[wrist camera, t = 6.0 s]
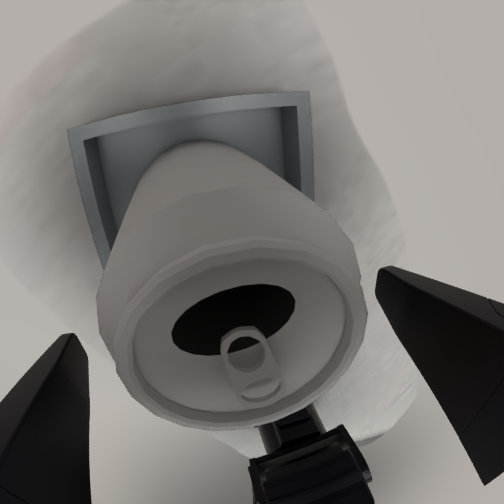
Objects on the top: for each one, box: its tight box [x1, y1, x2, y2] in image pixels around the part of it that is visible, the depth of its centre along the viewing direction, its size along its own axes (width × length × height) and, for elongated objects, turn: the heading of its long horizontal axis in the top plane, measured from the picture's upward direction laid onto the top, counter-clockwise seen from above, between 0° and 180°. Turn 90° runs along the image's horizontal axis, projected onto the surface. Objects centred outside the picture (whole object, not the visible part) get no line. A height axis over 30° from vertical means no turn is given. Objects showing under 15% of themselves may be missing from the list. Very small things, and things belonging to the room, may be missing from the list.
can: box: [96, 139, 368, 431], centre depth 12 cm, size 8×8×12 cm
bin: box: [67, 92, 314, 271], centre depth 16 cm, size 11×11×3 cm
